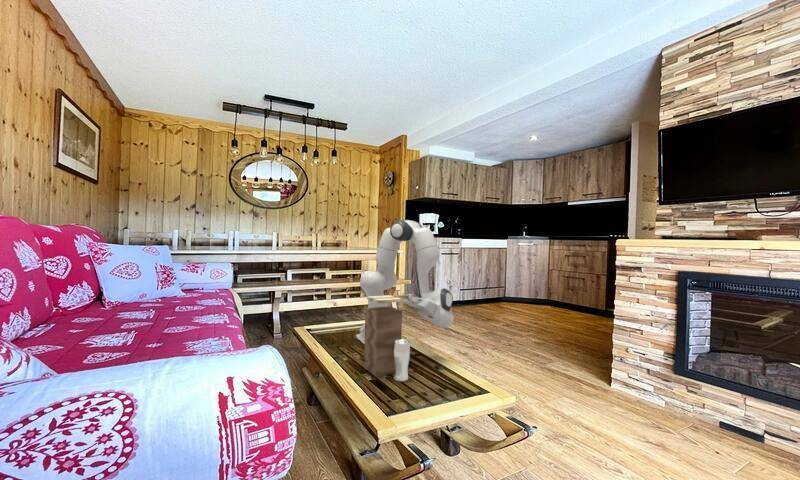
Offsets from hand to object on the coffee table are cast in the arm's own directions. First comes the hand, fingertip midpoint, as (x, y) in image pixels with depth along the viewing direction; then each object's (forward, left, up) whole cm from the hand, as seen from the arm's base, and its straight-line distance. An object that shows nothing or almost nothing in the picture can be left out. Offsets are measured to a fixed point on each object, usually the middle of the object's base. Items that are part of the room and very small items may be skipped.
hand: (405, 295), depth 153 cm
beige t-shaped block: (0, -6, -1) cm, 6 cm away
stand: (0, -11, -31) cm, 33 cm away
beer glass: (+12, -9, -32) cm, 35 cm away
